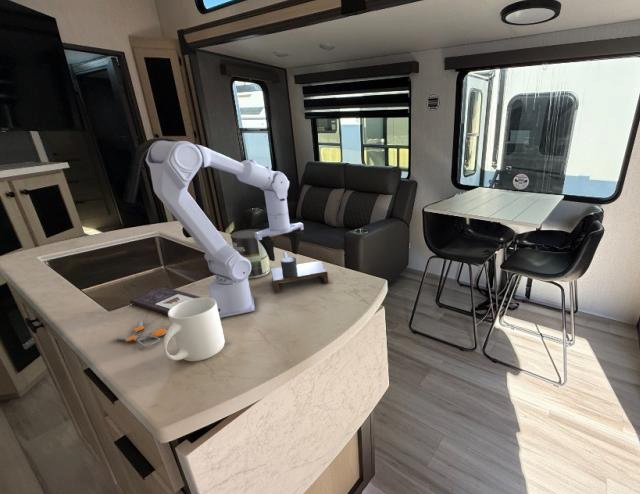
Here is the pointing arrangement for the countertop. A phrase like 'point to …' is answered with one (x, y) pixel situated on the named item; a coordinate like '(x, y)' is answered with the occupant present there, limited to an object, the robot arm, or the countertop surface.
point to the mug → (195, 330)
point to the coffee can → (251, 251)
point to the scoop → (288, 266)
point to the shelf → (300, 273)
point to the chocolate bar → (162, 299)
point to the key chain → (140, 338)
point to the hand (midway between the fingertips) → (283, 256)
